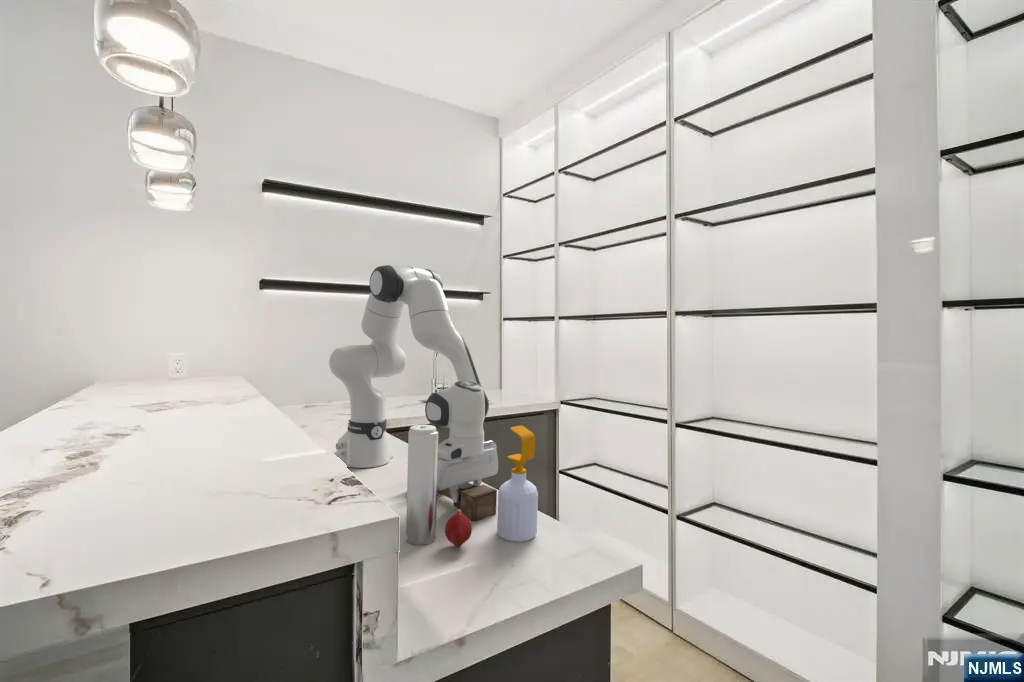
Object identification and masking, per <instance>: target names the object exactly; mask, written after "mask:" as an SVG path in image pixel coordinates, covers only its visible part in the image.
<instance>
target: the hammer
mask: <svg viewBox="0 0 1024 682" xmlns="http://www.w3.org/2000/svg"><path fill="white" fill-rule="evenodd" d="M474 487H476V486H475V485H473V483H471V482H468V483H465V484H461V485H458V489H456V490H457V492H458V493H459V494H461V491H464V490H467V489H470V488H474ZM437 492H438V493H440V494H442V495H441V496H444V497H446V498H449V499H451V500H452V493H451V491H450V489H449V488H447V489H443V490H437ZM453 507H455V508H456V509H457V510H461V501H459V502H454V501H453Z"/></svg>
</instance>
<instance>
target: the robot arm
mask: <svg viewBox="0 0 1024 682" xmlns="http://www.w3.org/2000/svg"><path fill="white" fill-rule="evenodd" d="M369 277H370V278H369V291H370V293H369V296H368V299H367V302H366V305H365V309H364V313H363V317H362V320H361V323H360V325H361V330H362V332H363V333H364V335H366V336H367V337H368V338H369V339H371V343H370V344H354V345H353V344H350V345H345V346H340V347H336V348H335V349H334V350H333V351H332V353H331V354H330V355H329V362H328V363H329V364H328V365H329V369H330V372H331V373H332V375H333V376H334V377H336V378H337V379H338V380H340V382H342V383H343V385H344V387H345V388H346V390H347V393H348V395H349V403H350V419H348V420H347V429H346V431H345V433H344V434H343V435H342V436H341V437H339V438H338V440H337V442H336V444H335V451H332V452H331V453H334V454H335V455H336V456H337V457H339V458H340V459H341V460H342V461H343V462H344V463H345V464H346V465H347V467H346V468H357V469H360V468H362V469H363V468H365V469H367V468H376V467H380V466H383V465H386V464H388V463H390V460H391V459H392V458H394V454H393V453H391V447H390V434H389V433H388V432H387V426H388V423H387V418H386V405H387V404H386V402H387V399H386V396H385V394H384V393H383V392H382V391H380V390H379V389H377V388H375V387H373V385H372V379H374V378H375V379H378V378H379V379H380V378H389V377H392V376H395V375H399V374H401V373H402V372H403V371H404V370H405V368H406V365H407V357H406V353H405V352H404V350H403V349H402V347H401V346H399V344H398V341H397V332H398V328H399V323H400V320H401V317H402V313H403V309H404V306H405V305H407V308H408V314H409V322H410V328H411V331H412V335H413V337H414V339H415V341H417V342H418V343H419V344H420V345H421V346H423V347H424V348H426V349H428V350H431V351H434V352H437V353H439V354H441V355H443V356H444V357H446V358H447V359H448V360H449V361H450V363H451V364H452V366H453V370H454V372H455V376H456V378H457V381H456V382H454V383H453V384H452V385H451V386H450V387H449V388H446V389H443V390H439V391H436V392H433V393H431V394H430V395H429V397H427V400H426V402H425V406H424V407H425V410H424V412H425V413H424V414H425V418H426V420H427V421H428V422H429V424H430V425H432V426H435V427H436V428H448V429H449V437H447V438H446V439H445V440H443V441H441V442H440V443H439V442H438V472H437V490H443V489H447V488H449V489H450V491H451V493H452V499H451V500H452V502H453V503H454V502H459V501H461V494H459V493H458V492H457V490H456V489H458V485H461V484H465V483H471V482H473V483H472V484H473V485H475V486H476V487H477V486H481V485H482V479H486V478H489V477H492V476H496V475H497V474H498V471H499V457H498V452H497V447H498V446H497V444H496V441H493V440H487V441H485V431H484V421H485V418H486V416H487V414H488V412H489V408H490V403H489V398H488V396H487V394H486V392H485V390H484V388H483V387H482V385H481V382H480V379H479V375H478V373H477V371H476V370H477V369H476V367H475V365H474V362H473V358H472V355H471V352H470V350H469V346H468V345H467V343H466V340H465V338H464V337H463V336H462V335H461V334H460V333H459V332H458V330H457V328H456V327H455V325H454V323H453V321H452V318H451V315H450V309H449V306H448V305H449V304H448V302H447V298H446V295H445V293H444V290H443V286H444V284H443V280H442V277H441V275H440V274H439V273H438V272H436V271H434V270H432V269H428V268H425V269H424V268H421V267H420V268H419V267H416V266H405V265H404V266H402V265H401V266H399V265H396V266H394V265H391V264H389V265H388V264H387V265H380V266H379V265H378V266H377V267H375V268H374V269H373V271H372V273H371V274H370V276H369Z"/></svg>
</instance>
